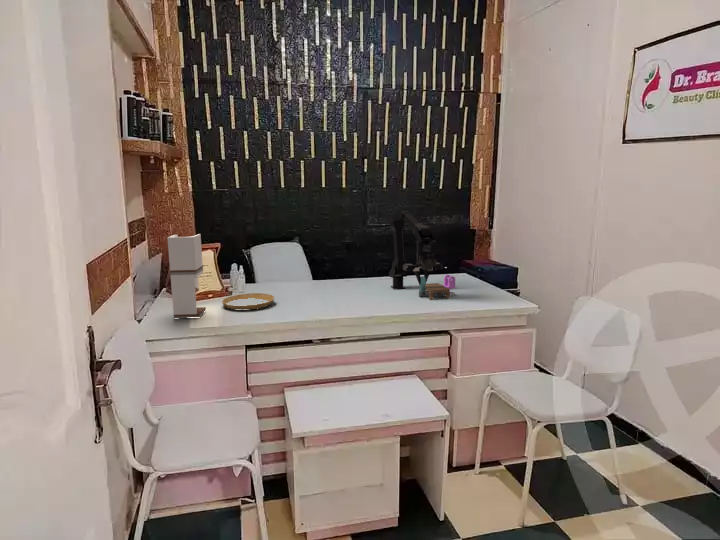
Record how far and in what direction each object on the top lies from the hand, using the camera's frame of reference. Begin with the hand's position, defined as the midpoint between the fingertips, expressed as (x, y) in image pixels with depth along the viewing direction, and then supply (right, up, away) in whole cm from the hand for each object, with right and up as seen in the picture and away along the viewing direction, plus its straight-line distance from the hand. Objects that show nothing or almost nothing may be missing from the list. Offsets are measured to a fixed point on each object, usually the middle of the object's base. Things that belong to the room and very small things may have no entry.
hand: (422, 283), depth 241 cm
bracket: (+13, -4, +19) cm, 23 cm away
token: (+15, -6, +5) cm, 16 cm away
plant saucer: (-84, -10, -12) cm, 85 cm away
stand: (+6, -6, +3) cm, 9 cm away
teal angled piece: (+6, -6, +2) cm, 9 cm away
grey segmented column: (-105, -13, -29) cm, 110 cm away
